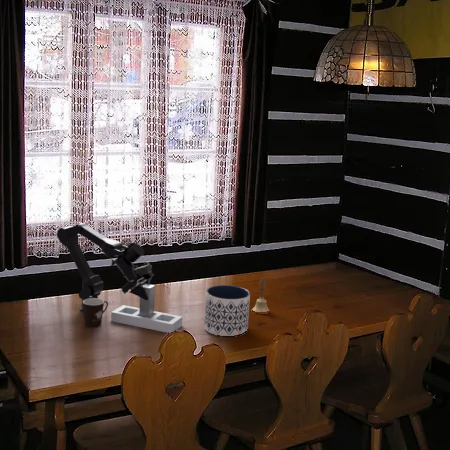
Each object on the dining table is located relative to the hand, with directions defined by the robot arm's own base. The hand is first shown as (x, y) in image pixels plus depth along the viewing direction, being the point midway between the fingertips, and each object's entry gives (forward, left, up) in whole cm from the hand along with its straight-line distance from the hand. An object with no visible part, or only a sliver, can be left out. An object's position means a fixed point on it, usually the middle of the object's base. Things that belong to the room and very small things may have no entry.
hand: (150, 298), depth 287 cm
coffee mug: (-19, +11, -12) cm, 25 cm away
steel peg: (-1, +1, -7) cm, 7 cm away
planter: (+23, -22, -12) cm, 34 cm away
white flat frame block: (-1, +1, -11) cm, 11 cm away
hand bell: (+51, -14, -12) cm, 54 cm away
